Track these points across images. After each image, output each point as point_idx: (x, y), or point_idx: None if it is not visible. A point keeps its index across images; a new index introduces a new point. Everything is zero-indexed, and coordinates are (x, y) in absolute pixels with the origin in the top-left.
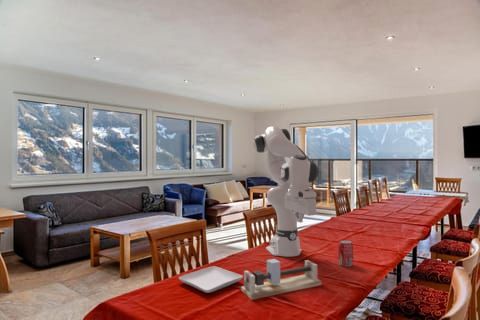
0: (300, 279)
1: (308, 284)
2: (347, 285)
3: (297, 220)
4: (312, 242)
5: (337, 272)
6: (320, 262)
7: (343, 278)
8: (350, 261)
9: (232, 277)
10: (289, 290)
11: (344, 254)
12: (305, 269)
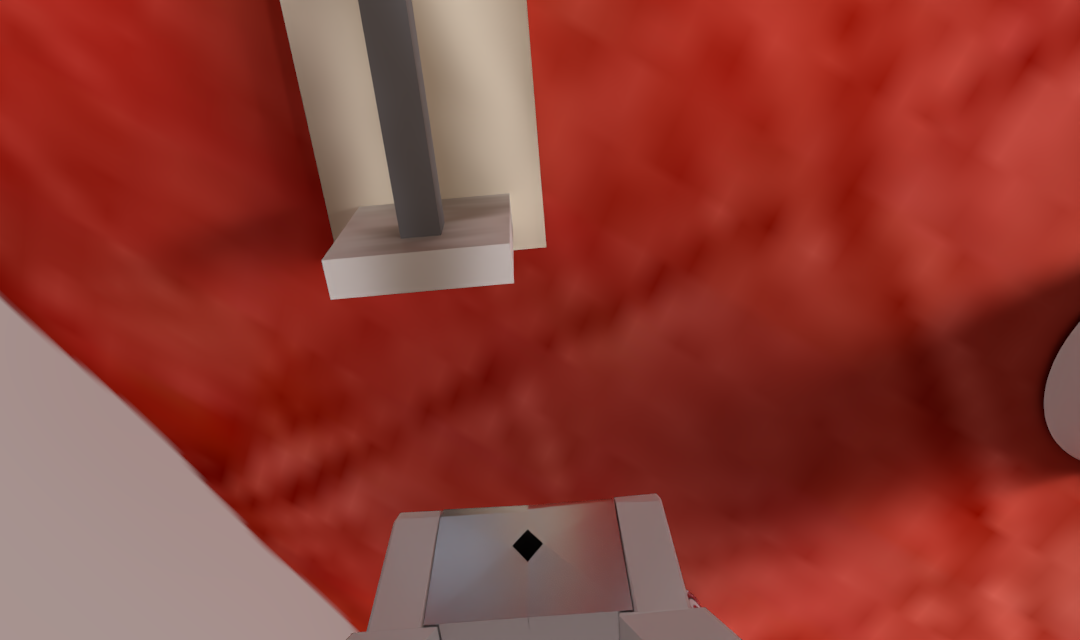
0: (435, 102)
1: (306, 116)
2: (286, 421)
3: (535, 529)
4: None
5: (544, 491)
6: (791, 492)
7: (420, 467)
8: None
9: None
10: None
11: None
12: (390, 167)
